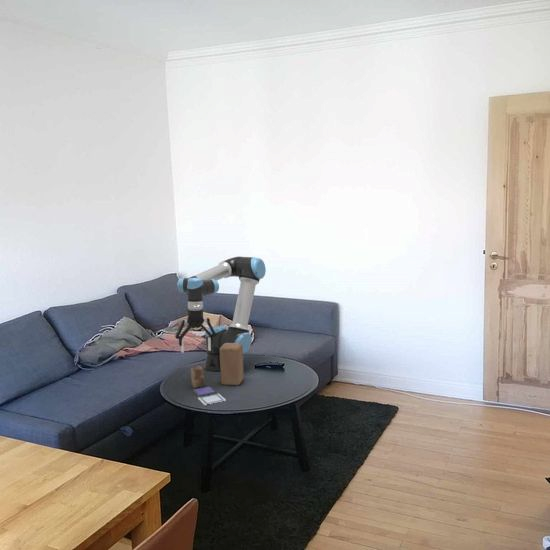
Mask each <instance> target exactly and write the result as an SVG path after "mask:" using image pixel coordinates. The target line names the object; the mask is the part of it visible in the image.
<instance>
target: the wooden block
mask: <svg viewBox="0 0 550 550" xmlns="http://www.w3.org/2000/svg"><path fill="white" fill-rule="evenodd" d="M243 354H244V353H243V349H242V344H241V343H224V344H223V345H222V346H221V347H220V370H221V371H220V384H221V385H223V386H225V385H227V386H240V384H241V383H242V382H243V380H244V377H245V376H244V355H243Z"/></svg>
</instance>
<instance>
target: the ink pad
mask: <svg viewBox="0 0 550 550" xmlns="http://www.w3.org/2000/svg"><path fill="white" fill-rule="evenodd" d="M192 393H194V394H195V395H196V396H197V398H199V397H203V396H208V395H214V394H217V392H216V390H215V389H214V388H212V387H211V386H206V387H205V386H204V387H203V388H198V389H192Z"/></svg>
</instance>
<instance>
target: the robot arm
mask: <svg viewBox="0 0 550 550" xmlns="http://www.w3.org/2000/svg"><path fill="white" fill-rule="evenodd" d="M266 269H267V268H266V263H265V261H264V260H263V259H262V258H260V257H255V256H251V257H250V256H234V257H231V258H228V259H225V260H222V261H221V262H219V263H218V265H215V266H213V267H211V268H209V269H207V270H203V271H202V272H199V273H197V274H195V275H192V276H190V277H181V278H179V279H178V281H177V283H176V286H177V290H178V291H179V292H180V293H184V294H187V309H188V310H187V319H184V318H182V319H181V321H180V322H181V323H180V324H179V327H178V329H177V332H176V333H175V336H174V337H175V340H178V345H179V347H180V349H181V350H180V351H181V353H182V354H184V350H185V349H184V348H185V347H184V346H185V345H184V339H183V338H184V337H185V336H186V334H187V333H188V332H189V330H191V329H196V328H197V329H199V328H201V329H202V330H203V331H204V332H205V348H206V356H205V359H204V363H203V369H205V370H206V371H209V372H221V370H220V347H221V346H222V345H223V344H224V343H241V344H242V349H243V354H245V353H246V352H247V351H249V349H251V348H250V347H251V345H252V338H253V337H252V335H251V334H250V329H249V328H248V326H249V325H248V324H249V321H250V315H251V311H252V305H253V302H254V301H253V300H254V295H255V291H256V286H257V285H258V284H259V283H260V281H261V280H262V279H264V277H265V275H266V272H267V271H266ZM231 277H237V278H238V279H239V281H240V284H239V289H238V294H237V298H236V299H237V300H236V303H235V307H234V311H233V312H234V313H233V317H232V322H231V324H229V325H228V327H226V325H217V326H213V325H212V323H211V319H210V317H205V318H204V310H203V309H204V296H211V295H214V294H215V295H216V294H217V293H218V291H219V289H220V284H219V282H218V281H220V280H222V279H223V278H225V279H228V278H231ZM204 323H207V326H208V327H209V328H207V327H205V325H203V324H204ZM185 324H188V325H187V326H186V328H185V329H184V330H183V328H184V327H185Z"/></svg>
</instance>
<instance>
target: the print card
mask: <svg viewBox="0 0 550 550" xmlns="http://www.w3.org/2000/svg"><path fill="white" fill-rule="evenodd" d="M197 399H198V401H199V402H200V403H201V404H202V405H203V406H208V405H207V404H210V405H214V404H218V402H219V403H224V402H227V399H226V398H225V397H223V396H222V395H221V394H220V393H216V394H214V395H209V396H204V397H197ZM223 401H224V402H223ZM213 403H214V404H213Z"/></svg>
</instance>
